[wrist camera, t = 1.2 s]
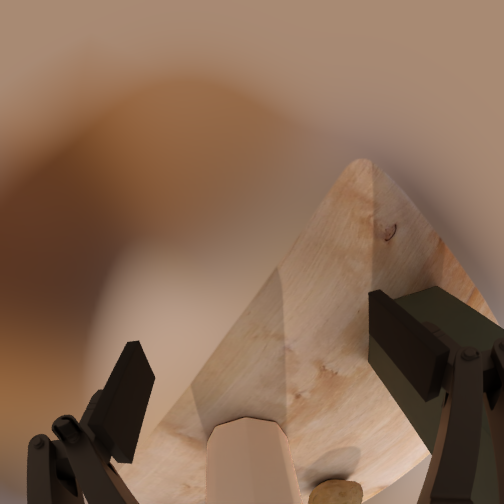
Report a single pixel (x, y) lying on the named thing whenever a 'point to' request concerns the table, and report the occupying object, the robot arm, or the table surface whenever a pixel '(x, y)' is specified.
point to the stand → (429, 414)
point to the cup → (250, 465)
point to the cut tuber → (337, 493)
